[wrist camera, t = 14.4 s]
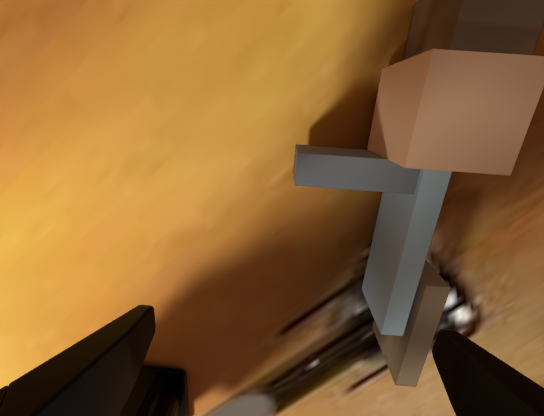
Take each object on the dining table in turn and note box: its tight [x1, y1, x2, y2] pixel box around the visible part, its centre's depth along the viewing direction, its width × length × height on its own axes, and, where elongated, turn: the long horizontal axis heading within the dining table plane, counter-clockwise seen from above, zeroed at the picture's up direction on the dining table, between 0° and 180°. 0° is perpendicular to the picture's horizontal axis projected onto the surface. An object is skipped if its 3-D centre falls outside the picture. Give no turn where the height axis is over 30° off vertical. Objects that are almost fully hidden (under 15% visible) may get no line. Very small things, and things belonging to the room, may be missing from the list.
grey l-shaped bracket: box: [293, 145, 452, 336], centre depth 15 cm, size 10×7×4 cm
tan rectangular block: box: [367, 49, 544, 175], centre depth 12 cm, size 4×4×5 cm
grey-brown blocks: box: [372, 0, 544, 387], centre depth 15 cm, size 20×3×4 cm, turn 176°
